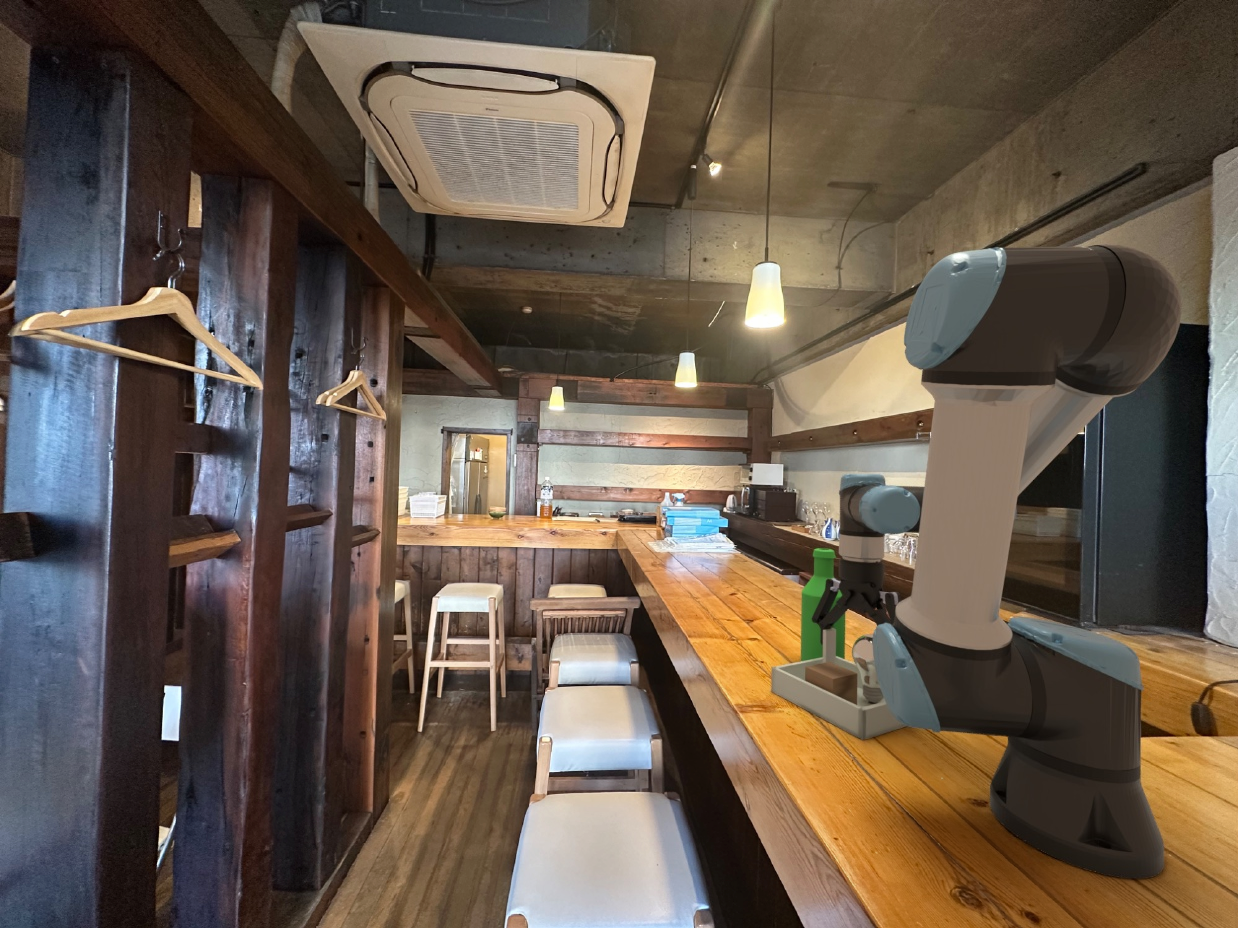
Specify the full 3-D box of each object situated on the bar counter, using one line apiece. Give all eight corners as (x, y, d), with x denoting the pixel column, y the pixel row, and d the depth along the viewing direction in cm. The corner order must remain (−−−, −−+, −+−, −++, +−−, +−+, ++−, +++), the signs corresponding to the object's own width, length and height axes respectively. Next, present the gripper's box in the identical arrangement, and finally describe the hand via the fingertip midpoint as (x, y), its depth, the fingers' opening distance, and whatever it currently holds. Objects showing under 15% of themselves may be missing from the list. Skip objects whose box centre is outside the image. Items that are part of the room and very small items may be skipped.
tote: (929, 719, 87) (929, 692, 87) (862, 740, 80) (862, 710, 80) (833, 677, 105) (833, 654, 105) (771, 691, 97) (771, 667, 97)
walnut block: (832, 715, 87) (833, 678, 87) (804, 700, 92) (805, 666, 92) (857, 708, 89) (857, 673, 90) (828, 694, 95) (829, 661, 95)
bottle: (848, 665, 112) (849, 548, 112) (840, 678, 105) (842, 553, 105) (805, 656, 117) (807, 545, 117) (795, 668, 109) (797, 549, 110)
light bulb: (900, 703, 92) (901, 635, 92) (887, 715, 87) (888, 643, 87) (860, 691, 97) (860, 626, 97) (845, 702, 92) (845, 633, 92)
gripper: (943, 569, 85) (941, 699, 85) (821, 548, 107) (819, 651, 107) (914, 572, 82) (912, 708, 81) (794, 549, 104) (792, 656, 103)
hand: (859, 676), depth 94 cm, fingers open, 13 cm apart
